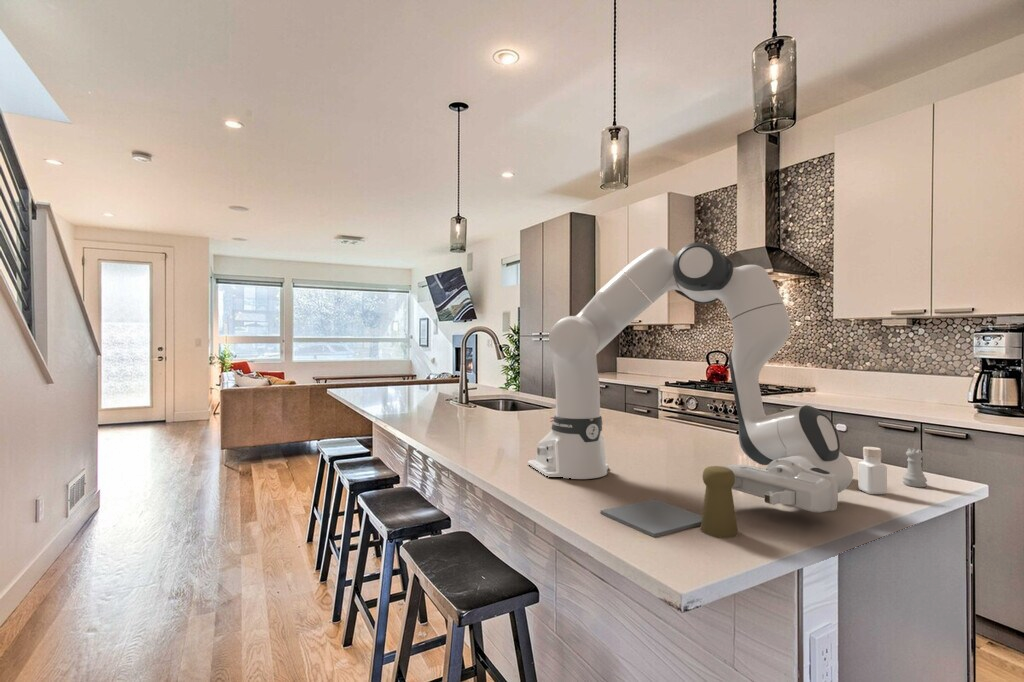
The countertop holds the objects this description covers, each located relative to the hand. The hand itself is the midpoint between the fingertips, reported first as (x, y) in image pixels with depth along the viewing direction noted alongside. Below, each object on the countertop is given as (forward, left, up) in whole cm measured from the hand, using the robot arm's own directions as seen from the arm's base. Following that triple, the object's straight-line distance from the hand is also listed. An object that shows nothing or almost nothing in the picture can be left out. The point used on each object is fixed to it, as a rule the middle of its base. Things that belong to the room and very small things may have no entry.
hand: (743, 491), depth 92 cm
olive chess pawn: (0, -6, -6) cm, 9 cm away
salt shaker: (+1, +41, -6) cm, 42 cm away
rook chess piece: (+3, +55, -6) cm, 56 cm away
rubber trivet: (-11, -11, -6) cm, 16 cm away
